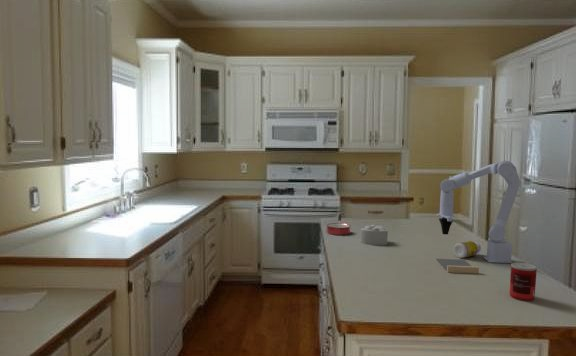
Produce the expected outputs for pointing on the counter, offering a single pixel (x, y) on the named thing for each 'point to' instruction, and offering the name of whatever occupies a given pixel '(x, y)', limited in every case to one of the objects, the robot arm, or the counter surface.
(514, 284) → the canned food
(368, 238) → the lumpy-topped squat cylinder
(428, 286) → the counter surface
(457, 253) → the supplement bottle
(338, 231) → the frying pan
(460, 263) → the mat
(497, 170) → the robot arm
